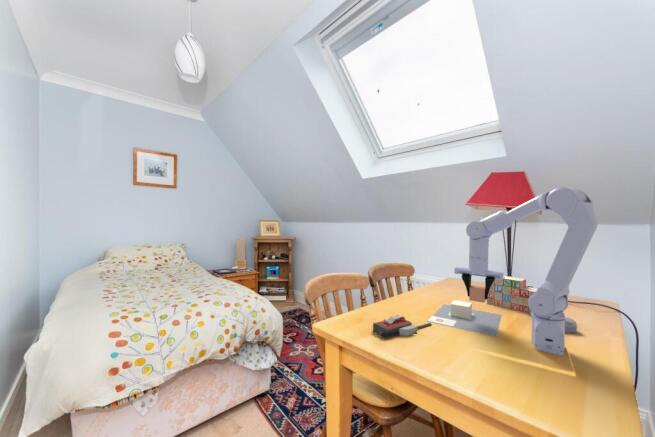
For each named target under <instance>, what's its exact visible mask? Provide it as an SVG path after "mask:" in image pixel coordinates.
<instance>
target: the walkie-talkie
mask: <svg viewBox="0 0 655 437" xmlns="http://www.w3.org/2000/svg"><path fill="white" fill-rule="evenodd" d="M432 324H433V323H430V322H427V323H425V324H421V325H417V326H415V325H413V322H411V321H409V320H407V319H406V318H405V316H403V315H399V314H396V315H393V316H392V315H391V316H390V317H389V318H388V319H385V318H384V319H383V320H381V321H378V322H373V324H372V332H373V333H374V334H377V335H379V336H380V337H383V339H389V338H392V337H396V336H400V337H401V336H402V337H403V336H404V337H408V336H411V335H416V334H417V332H418V330H421V329H424V328H427V327H430V326H433V325H432Z"/></svg>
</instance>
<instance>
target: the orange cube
mask: <svg viewBox="0 0 655 437" xmlns="http://www.w3.org/2000/svg"><path fill="white" fill-rule="evenodd" d="M469 301H472V302H478V303H483V304H485V302H486V301H487V299H485V285H484V286H483V285H476V284H471V286H470V296H469Z"/></svg>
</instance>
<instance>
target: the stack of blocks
mask: <svg viewBox="0 0 655 437" xmlns="http://www.w3.org/2000/svg"><path fill="white" fill-rule="evenodd" d="M537 289H538V288H535V287H530V286H527V279H526V278H521V277H520V278H519V277H514V276H508V275H504V279H499V278H495V280H494V282H493V283H492V285H491V288H490V290H489V293H488V299H486V305H488V306H494V307H500V308H506V309H512V310H517V311H521V312H526V313H528V316H531V313H532V311H531V309H530V308H529V305H528V299H529V297H530V296H531V295H532V294H534V293H535V292H536V291H537Z"/></svg>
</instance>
